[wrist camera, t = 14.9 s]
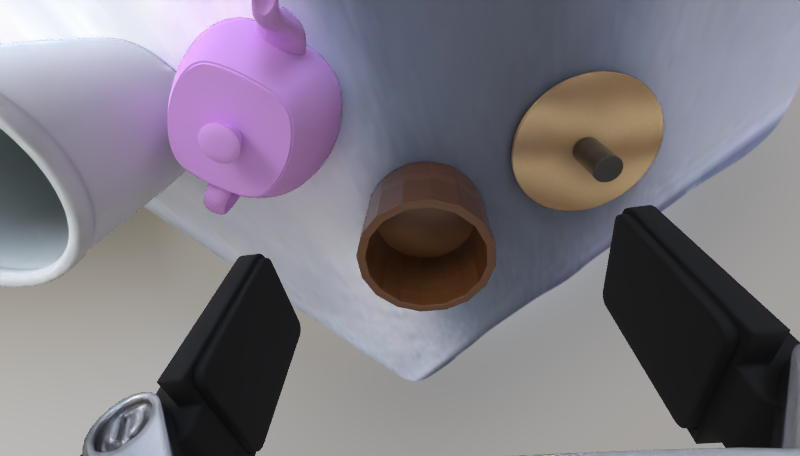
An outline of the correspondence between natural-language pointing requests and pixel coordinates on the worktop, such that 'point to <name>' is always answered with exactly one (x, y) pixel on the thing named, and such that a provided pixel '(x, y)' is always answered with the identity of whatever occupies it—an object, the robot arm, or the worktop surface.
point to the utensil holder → (77, 148)
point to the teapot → (253, 107)
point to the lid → (587, 140)
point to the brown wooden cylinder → (426, 238)
